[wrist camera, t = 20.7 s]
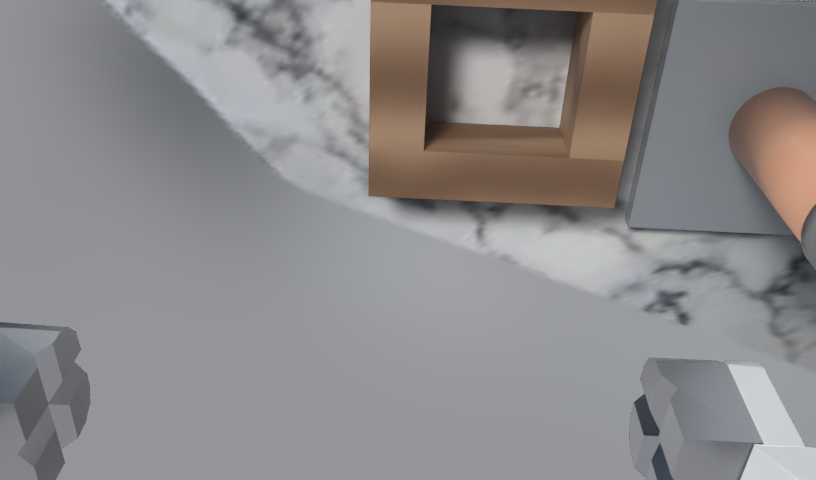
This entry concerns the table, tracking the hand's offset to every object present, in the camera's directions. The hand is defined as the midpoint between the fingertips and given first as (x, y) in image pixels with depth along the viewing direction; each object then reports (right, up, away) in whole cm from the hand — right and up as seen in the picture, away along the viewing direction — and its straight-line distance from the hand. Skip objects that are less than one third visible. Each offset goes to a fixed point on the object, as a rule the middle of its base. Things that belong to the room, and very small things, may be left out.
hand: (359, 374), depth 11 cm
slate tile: (+22, +9, +34) cm, 41 cm away
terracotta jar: (+22, +8, +33) cm, 40 cm away
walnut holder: (+6, +12, +32) cm, 35 cm away
